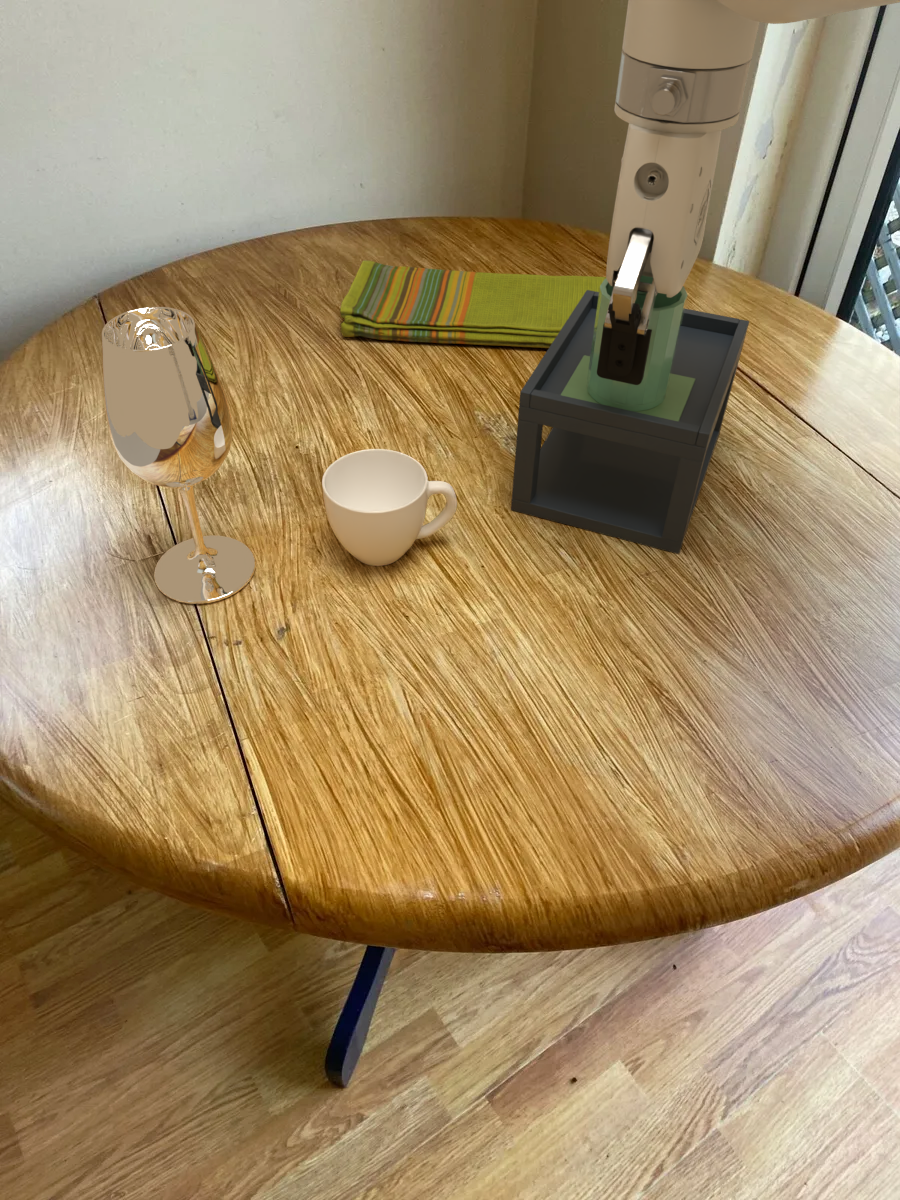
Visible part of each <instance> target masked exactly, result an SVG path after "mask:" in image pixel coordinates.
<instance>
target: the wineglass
mask: <svg viewBox="0 0 900 1200" xmlns="http://www.w3.org/2000/svg"><path fill="white" fill-rule="evenodd" d="M101 361H102V362H101V363H102V364H101V365H102V382H103V397H104V407H105V409H104V410H105V414H106V415H105V416H106V420H107V425H108V426H107V427H108V430H109V435H110V439H111V443H112V445H113V447H114V450H115V452H116V454H117V456H118V457H119V459H120V461H121V462H122V463H123V464H124V465H125V467H126V468H127V469H128V470H129V471H130V472H131V473H133V474H134V475H135V476H137V477H138V478H140V479H142V480H143V481H145V482H146V483H148V484H151V485H154V486H158V487H162V488H166V489H177V490H179V493H180V494H181V495H180V496H181V497H182V500H183V503H184V507H185V510H186V514H187V519H188V523H189V527H190V530H191V535H192V537H191V538H189V539H186V540H182V541H181V542H179V543H177V544H175V545H173V546H172V547H171V548H169V549H167V550H166V552H164V553H163V554H162V555H161V556H160V558H159V560H158V561H157V562H156V565H155V568H154V573H153V579H154V584H155V585H156V587H157V588H158V590H159V591H160V592H161V593H162V594H163V596H166V597H167V598H169V599H171V600H173V601H176V602H178V603H183V604H188V605H189V604H191V605H203V604H211V603H215V602H219V601H222V600H224V599H227V598H230V597H231V596H233V595H235V594H237V593H238V592H239V591H241V590H242V589H244V588H245V587H246V586H247V585H248V583H250V581H251V580H252V577H254V574H255V571H256V566H257V563H256V558H255V554H254V553H253V551H252V550H251V548H250V547H248V546H247V545H246V544H245V543H244V542H242V541H240V540H239V539H236V538H234V537H230V536H227V535H226V536H225V535H215V534H211V535H210V534H209V535H203V532H202V531H203V530H202V527H201V522H200V518H199V514H198V509H197V505H196V500H195V486H196V485H197V486H198V485H200V484H201V483H203V482H204V481H206V480H207V479H209V478H211V476H212V475H214V474H215V473H216V472H217V471H218V470H219V469H220V468H221V466H223V464H224V462H225V460H226V459H227V458H228V455H229V453H230V450H231V446H232V442H233V437H234V436H233V433H234V432H233V419H232V415H231V410H230V406H229V402H228V399H227V395H226V393H225V391H224V387H223V385H222V382H221V379H220V377H219V374H218V372H217V370H216V367H215V364H214V362H213V360H212V358H211V355H210V353H209V350H208V348H207V346H206V343H205V341H204V340H203V336H202V335H201V332H200V331H199V328H198V327H197V324H196V322H195V319H194V318H193V317H192V316H191V315H190V314H188V313H187V312H185V311H183V310H180V309H177V308H174V307H168V306H149V307H141V308H135V309H132V310H128V311H125V312H122V313H120V314H118V315H116V316H114V317H113V318H111V319H110V320H109V321H107V322H106V324H105V325H104V326H103V328H102V331H101Z"/></svg>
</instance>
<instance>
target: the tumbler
mask: <svg viewBox="0 0 900 1200" xmlns="http://www.w3.org/2000/svg"><path fill="white" fill-rule="evenodd" d="M652 280H653V277H648V276H642V277H641V280H640V282H645V283H650V284H652ZM613 288H614V287H612V286H611V285H610V284H609V283H608V281H607V279H604V281H603V282H602V284H601V285H600V289H599V297H598V304H597V311H596V318H595V326H594V333H593V340H592V348H591V355H590V362H589V369H588V377H587V380H588V382H587V390H588V393H589V394H590V396H591V397H592V398H593V399H594V400H596V401H597V402H598V403H600V404H602V405H607V406H611V407H616V408H620V409H625V410H629V411H644V410H648V409H652V408H654V407H656V406H658V405H659V404H661V403H662V402H663V401H664V399H665V397H666V393H667V389H668V386H669V381H670V377H671V372H672V367H673V362H674V358H675V353H676V348H677V343H678V339H679V334H680V329H681V324H682V320H683V315H684V310H685V309H686V305H687V300H688V292H687V290H686V288H685V286H684V285H683V287H682V289H681V290H680V292H679V293H678V294H676V295H675V296H673V297H671V298H670V297H667V294H662V293H657V296H656V299H655V303H654V307H653V311H652V314H651V318H650V322H649V325H648V329H651V330H652V333H651V339H650V344H649V350H648V355H647V361H646V366H645V371H644V377H643V380H642V382H641V383H640V384H639V385H633V384H628V383H624V382H619V381H614V380H610V379H605V378H601V377H599V376H598V375H597V367H598V360H599V353H600V346H601V339H602V332H603V325H604V322H605V318H606V314H607V310H608V307H609V303H610V299H611V295H612V291H613ZM645 298H646V296H643V295H638V294H637V298H636V301H635V303H637V304H639V305H640V309H641V312H642V309H643V305H644V301H645Z"/></svg>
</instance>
